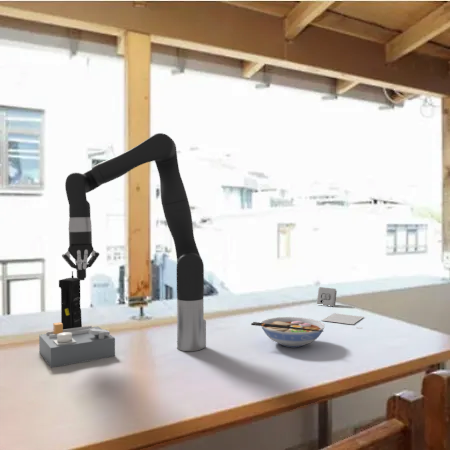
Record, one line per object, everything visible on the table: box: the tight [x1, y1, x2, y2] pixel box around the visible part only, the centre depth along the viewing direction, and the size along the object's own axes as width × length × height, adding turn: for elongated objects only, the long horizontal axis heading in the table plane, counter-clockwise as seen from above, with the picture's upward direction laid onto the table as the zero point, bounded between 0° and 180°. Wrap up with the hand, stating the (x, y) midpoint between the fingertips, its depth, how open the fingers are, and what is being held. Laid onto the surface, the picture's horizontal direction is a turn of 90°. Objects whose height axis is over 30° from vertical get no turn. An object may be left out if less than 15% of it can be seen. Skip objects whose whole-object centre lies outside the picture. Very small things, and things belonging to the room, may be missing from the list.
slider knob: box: [52, 321, 63, 334], centre depth 147 cm, size 2×3×4 cm
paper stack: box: [321, 312, 364, 330], centre depth 187 cm, size 23×25×1 cm
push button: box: [57, 332, 72, 342], centre depth 138 cm, size 4×4×2 cm
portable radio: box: [58, 271, 83, 330], centre depth 163 cm, size 8×6×25 cm
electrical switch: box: [316, 286, 338, 307], centre depth 225 cm, size 9×5×9 cm, turn 53°
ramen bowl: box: [250, 316, 325, 348], centre depth 155 cm, size 25×23×8 cm
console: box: [38, 325, 116, 369], centre depth 145 cm, size 20×18×8 cm
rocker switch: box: [88, 328, 111, 336], centre depth 144 cm, size 6×4×1 cm, turn 123°
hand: (81, 279), depth 152 cm, fingers closed
